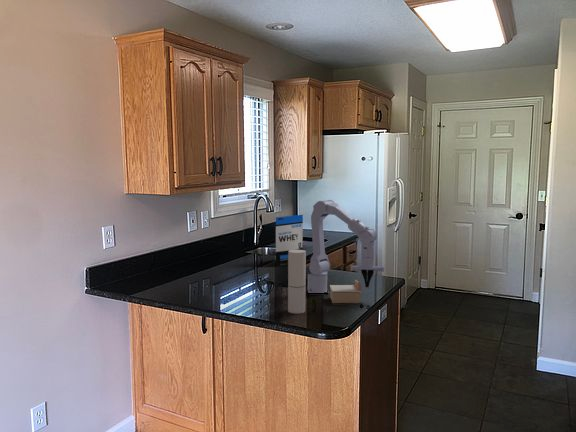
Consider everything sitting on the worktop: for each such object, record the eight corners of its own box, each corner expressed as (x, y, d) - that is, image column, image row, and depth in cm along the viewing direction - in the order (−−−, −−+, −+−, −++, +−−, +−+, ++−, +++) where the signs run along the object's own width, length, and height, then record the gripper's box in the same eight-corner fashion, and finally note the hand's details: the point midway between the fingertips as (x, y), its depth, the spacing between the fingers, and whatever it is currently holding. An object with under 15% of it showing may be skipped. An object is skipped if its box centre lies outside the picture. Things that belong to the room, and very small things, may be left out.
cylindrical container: (304, 308, 202) (305, 249, 199) (305, 313, 195) (306, 252, 192) (287, 308, 202) (288, 249, 199) (288, 313, 195) (288, 252, 192)
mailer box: (332, 304, 208) (332, 292, 208) (330, 297, 218) (330, 287, 218) (360, 304, 209) (360, 292, 208) (356, 297, 219) (356, 287, 218)
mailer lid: (332, 292, 208) (332, 285, 207) (329, 286, 218) (329, 279, 218) (360, 292, 208) (360, 285, 208) (356, 286, 218) (357, 279, 218)
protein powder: (270, 266, 290) (270, 216, 287) (296, 260, 307) (297, 214, 304) (281, 268, 283) (281, 217, 280) (308, 262, 301) (308, 215, 298)
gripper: (383, 255, 215) (382, 285, 216) (350, 254, 217) (350, 284, 218) (385, 258, 208) (384, 289, 209) (351, 257, 210) (350, 288, 211)
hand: (367, 286), depth 213 cm, fingers closed
